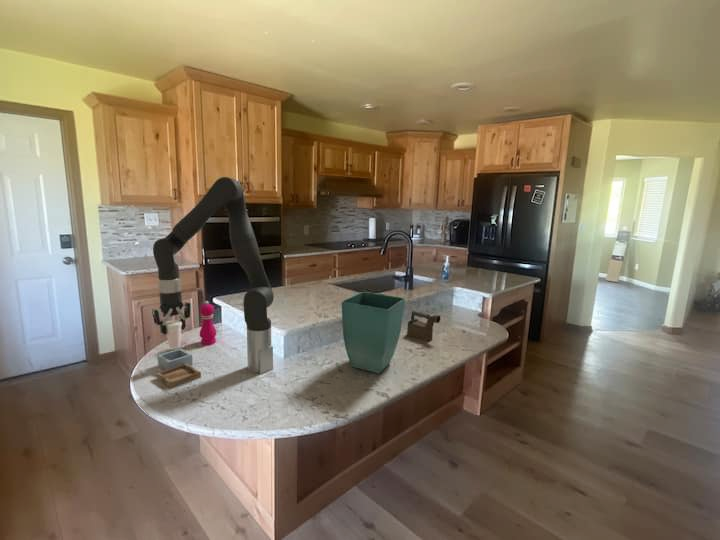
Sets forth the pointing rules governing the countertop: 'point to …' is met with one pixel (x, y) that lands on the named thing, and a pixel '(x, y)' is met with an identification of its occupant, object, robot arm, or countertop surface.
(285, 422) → the countertop surface
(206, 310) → the pepper mill
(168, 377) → the tray
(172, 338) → the smoothie
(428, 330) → the dark brown boxy piece
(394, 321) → the flower pot
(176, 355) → the holder
